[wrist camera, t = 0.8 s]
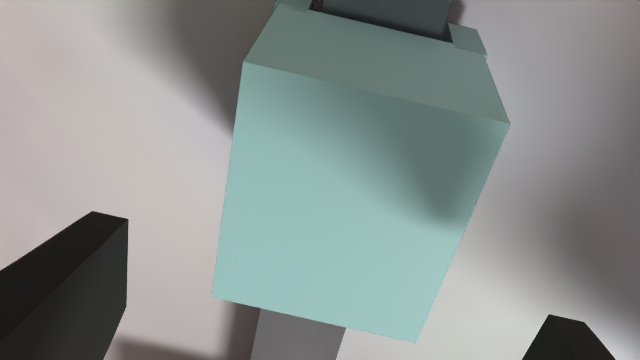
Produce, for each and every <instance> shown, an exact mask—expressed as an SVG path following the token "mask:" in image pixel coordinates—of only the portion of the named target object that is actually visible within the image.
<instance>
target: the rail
mask: <svg viewBox="0 0 640 360" xmlns="http://www.w3.org/2000/svg"><path fill="white" fill-rule="evenodd" d="M451 4H452V0H323V4H322V9H321V13H325V14H329V15H334V16H338V17H342V18H346V19H351V20H355V21H359V22H363V23H368V24H372V25H376V26H380V27H385V28H389V29H393V30H397V31H402V32H406V33H410V34H414V35H419V36H423V37H427V38H431V39H436V40H440V37H441V34H442V31H443V28H444V25H445V22H446V19H447V16H448V13H449V10H450V7H451ZM345 329H346V327H342V326H337V325H333V324H328V323H324V322H319V321H315V320H311V319H306V318H302V317H297V316H293V315H289V314H284V313H280V312H275V311H271V310H266V309H262V308H261V309H260V314H259V319H258V324H257V328H256V333H255V338H254V343H253V348H252V353H251V358H250V360H336V357H337V354H338V351H339V347H340V344H341V341H342V338H343V335H344V332H345Z"/></svg>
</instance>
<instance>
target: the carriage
mask: <svg viewBox="0 0 640 360" xmlns="http://www.w3.org/2000/svg"><path fill="white" fill-rule="evenodd" d="M313 5H314V0H276V2H275V3H274V5H273V11H272V16H271V17H270V19H269V21H268V22H267V24H266V25H265V27H264V29H263V30H262V32H261V33H260V35H259V37H258V38H257V40H256V42H255V43H254V45H253V46H252V48H251V50H250V51H249V53H248V54H247V56H246V58H245V59H244V61H243V65H242V72H241V80H240V87H239V95H238V102H237V109H236V117H235V124H234V131H233V139H232V146H231V154H230V161H229V168H228V176H227V183H226V191H225V198H224V205H223V213H222V220H221V227H220V235H219V242H218V250H217V257H216V264H215V272H214V279H213V287H212V294H211V297H213V298H218V299H222V300H227V301H231V302H235V303H240V304H244V305H249V306H253V307H258V308H262V309H266V310H271V311H275V312H280V313H284V314H289V315H293V316H297V317H302V318H306V319H311V320H315V321H319V322H324V323H328V324H333V325H337V326H342V327H346V328H350V329H355V330H359V331H364V332H368V333H373V334H377V335H381V336H386V337H390V338H395V339H399V340H404V341H408V342H412V343H416V342H417V339H418V337H419V335H420V332H421V330H422V328H423V326H424V323H425V321H426V319H427V316H428V314H429V312H430V309H431V307H432V305H433V302H434V300H435V298H436V295H437V293H438V291H439V288H440V286H441V284H442V281H443V279H444V277H445V274H446V272H447V270H448V267H449V265H450V263H451V260H452V258H453V256H454V253H455V251H456V249H457V247H458V244H459V242H460V240H461V237H462V235H463V233H464V230H465V228H466V226H467V223H468V221H469V219H470V216H471V214H472V212H473V209H474V207H475V205H476V202H477V200H478V198H479V195H480V193H481V191H482V188H483V186H484V184H485V181H486V179H487V177H488V175H489V172H490V170H491V168H492V165H493V163H494V161H495V158H496V156H497V154H498V151H499V149H500V147H501V144H502V142H503V140H504V137H505V135H506V133H507V130H508V128H509V126H510V122H509V120H508V117H507V114H506V112H505V109H504V107H503V104H502V101H501V99H500V96H499V94H498V91H497V89H496V86H495V83H494V81H493V78H492V76H491V73H490V70H489V68H488V65H487V63H486V58H487V53H486V51H485V48H484V46H483V43H482V41H481V38H480V36H479V33H478V31H477V30H476V29H472V28H468V27H463V26H459V25H455V24H451V23H448V24H447V27H446V30H445V33H444V36H443V39H442V41H440V40H436V39H431V38H427V37H423V36H419V35H414V34H410V33H406V32H402V31H397V30H393V29H389V28H385V27H380V26H376V25H372V24H368V23H363V22H359V21H355V20H351V19H346V18H342V17H338V16H334V15H329V14H325V13H321V12H317V11H312V10H313Z"/></svg>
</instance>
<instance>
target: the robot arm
mask: <svg viewBox="0 0 640 360" xmlns="http://www.w3.org/2000/svg"><path fill="white" fill-rule="evenodd" d="M127 256H128V219H125V218H121V217H116V216H112V215H107V214H103V213H98V212H94V211H92V212H90V213H89V214H87V215H85V216H84V217H82V218H81V219H79V220H77V221H76V222H74V223H73V224H71V225H70V226H68V227H67V228H65V229H64V230H62V231H61V232H59V233H58V234H56V235H55V236H53V237H52V238H50V239H49V240H47V241H46V242H44V243H43V244H41V245H40V246H38V247H36V248H35V249H33V250H32V251H30V252H29V253H27V254H26V255H24V256H23V257H21V258H20V259H18V260H17V261H15V262H13V263H12V264H10V265H9V266H7V267H5V268H4V269H2V270H1V271H0V360H103V359H104V357H105V354H106V352H107V350H108V348H109V346H110V343H111V341H112V339H113V337H114V334H115V332H116V330H117V327H118V325H119V322H120V320H121V318H122V315H123V313H124V311H125V308H126V298H127ZM522 360H615V358H614V357H613V356H612V355H611V353H610V352H609V351H608V350H607V348H606V347H605V346H604V345H603V344H602V342H601V341H600V340H599V339H598V338H597V336H596V335H595V334H594V333H593V332H592V331H591V329H590V328H589V327H588V326H587V325H586V324H585V323H584V322H581V321H577V320H572V319H568V318H563V317H559V316H554V315H550V314H549V315H548V317H547V318H546V320H545V322H544V324H543V325H542V327H541V329H540V330H539V332H538V334H537V335H536V337H535V339H534V340H533V342H532V344H531V345H530V347H529V349H528V350H527V352H526V354H525V356H524V357H523V359H522Z"/></svg>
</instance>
